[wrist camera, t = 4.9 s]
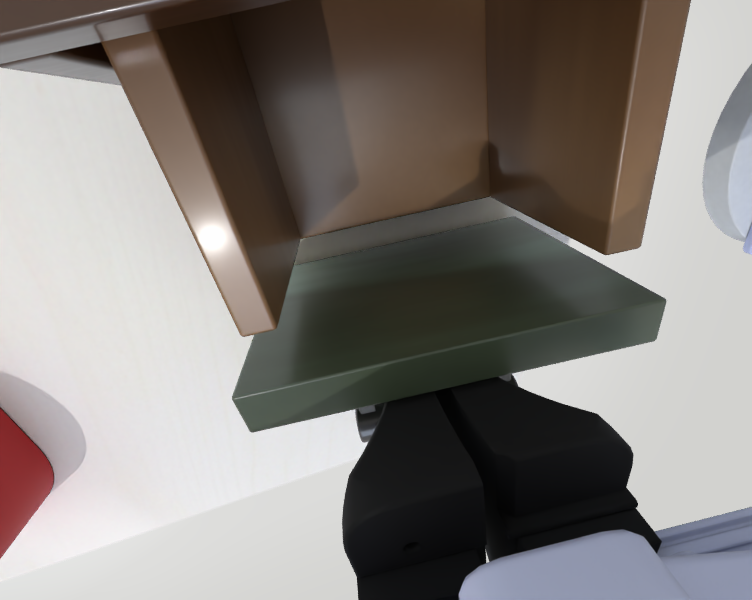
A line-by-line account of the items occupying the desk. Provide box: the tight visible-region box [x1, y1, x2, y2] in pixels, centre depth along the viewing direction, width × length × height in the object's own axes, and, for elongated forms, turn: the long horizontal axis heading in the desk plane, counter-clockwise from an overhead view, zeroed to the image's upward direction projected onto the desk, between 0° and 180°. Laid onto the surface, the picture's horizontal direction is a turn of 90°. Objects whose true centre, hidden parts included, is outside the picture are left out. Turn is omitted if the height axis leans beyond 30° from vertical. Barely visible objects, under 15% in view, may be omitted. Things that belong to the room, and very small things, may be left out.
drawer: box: [101, 0, 691, 442], centre depth 9 cm, size 17×10×7 cm, turn 11°
